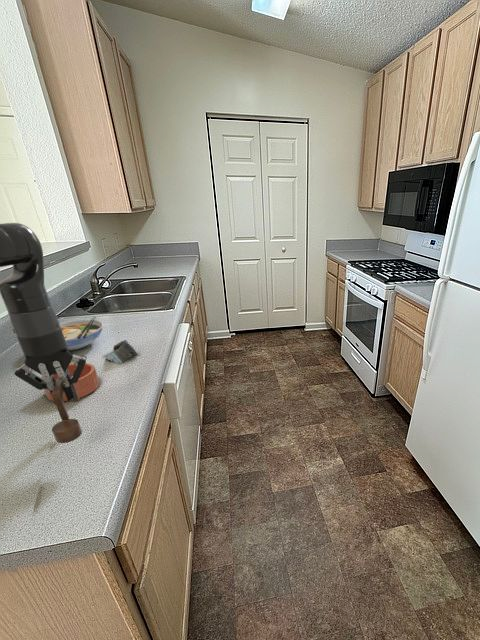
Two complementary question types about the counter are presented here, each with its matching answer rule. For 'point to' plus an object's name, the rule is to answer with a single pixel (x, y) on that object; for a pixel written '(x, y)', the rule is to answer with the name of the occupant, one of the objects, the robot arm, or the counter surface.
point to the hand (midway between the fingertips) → (65, 400)
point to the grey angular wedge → (121, 352)
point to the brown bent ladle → (65, 416)
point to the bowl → (80, 381)
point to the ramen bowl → (81, 332)
